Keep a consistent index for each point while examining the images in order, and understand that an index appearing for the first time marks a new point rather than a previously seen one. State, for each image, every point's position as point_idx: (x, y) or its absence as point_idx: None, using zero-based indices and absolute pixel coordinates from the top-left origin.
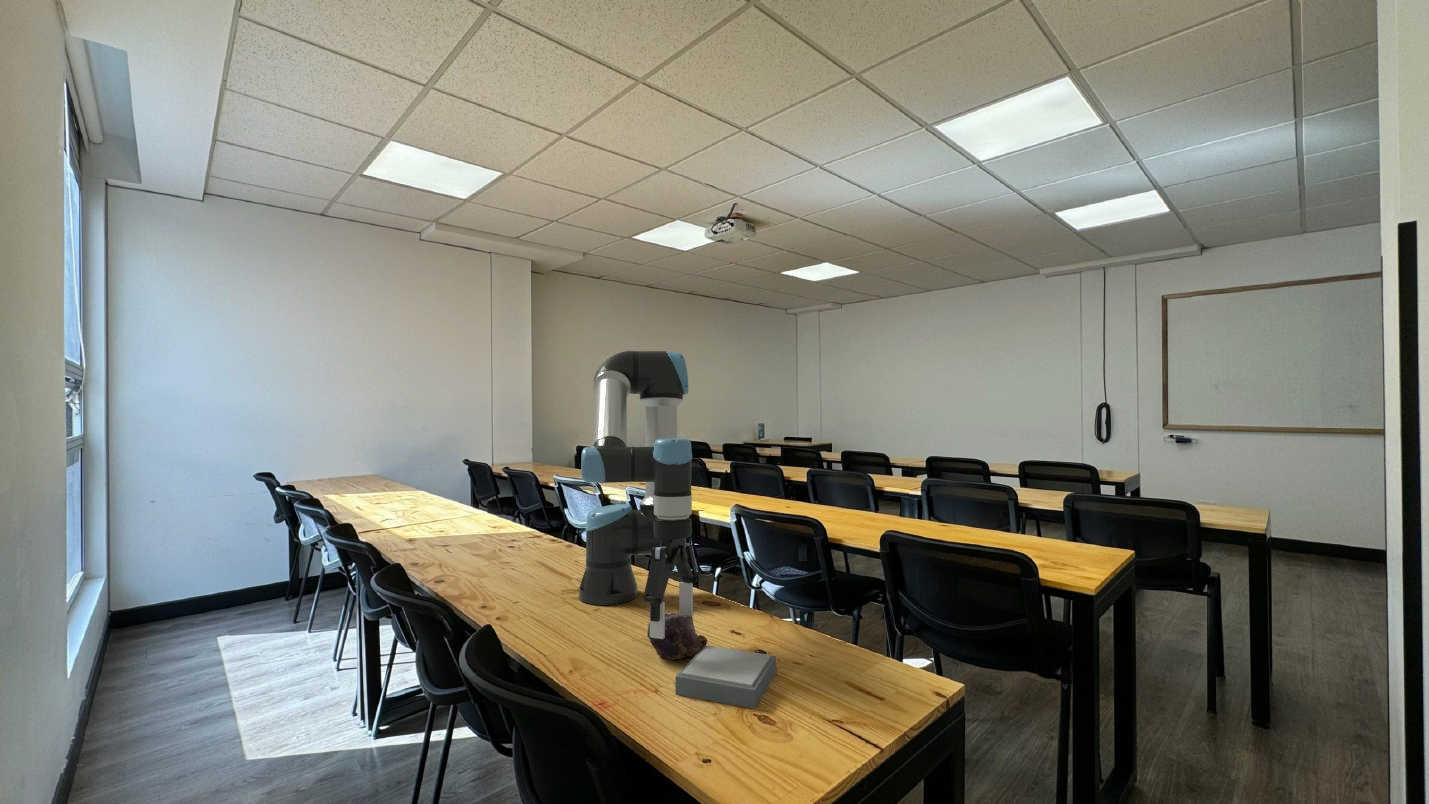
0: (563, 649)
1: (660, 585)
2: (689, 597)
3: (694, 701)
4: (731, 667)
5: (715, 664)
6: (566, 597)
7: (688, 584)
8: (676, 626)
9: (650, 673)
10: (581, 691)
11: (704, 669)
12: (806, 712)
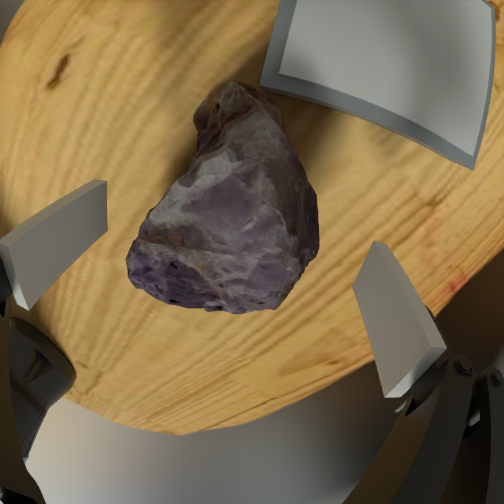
0: (245, 388)
1: (493, 438)
2: (59, 220)
3: None
4: (432, 17)
5: (427, 55)
6: (76, 391)
7: (15, 261)
8: (299, 212)
9: (353, 230)
10: None
11: (457, 91)
12: None
